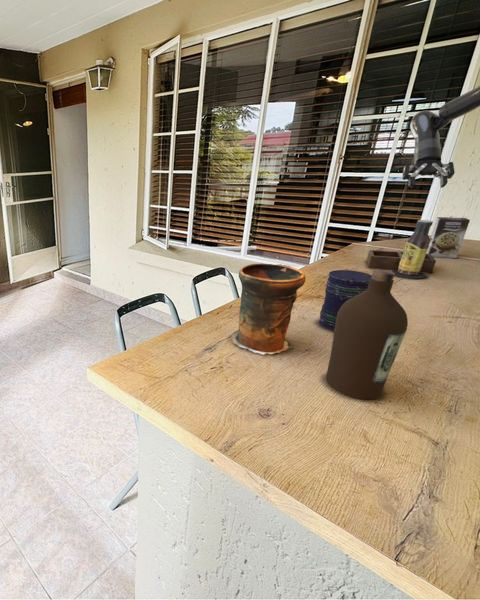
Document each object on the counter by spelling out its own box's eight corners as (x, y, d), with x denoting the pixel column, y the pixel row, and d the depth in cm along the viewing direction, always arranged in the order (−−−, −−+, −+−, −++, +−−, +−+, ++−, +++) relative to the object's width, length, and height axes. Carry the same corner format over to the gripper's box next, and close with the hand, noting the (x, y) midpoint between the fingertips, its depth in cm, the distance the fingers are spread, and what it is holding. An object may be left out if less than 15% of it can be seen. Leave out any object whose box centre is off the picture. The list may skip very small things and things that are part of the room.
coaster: (423, 272, 133) (423, 271, 133) (428, 280, 125) (429, 279, 125) (389, 270, 138) (389, 268, 138) (392, 277, 130) (392, 276, 130)
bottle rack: (426, 265, 140) (429, 253, 138) (432, 273, 132) (436, 260, 130) (366, 261, 150) (369, 249, 148) (368, 267, 142) (371, 256, 140)
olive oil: (313, 383, 74) (338, 272, 65) (334, 366, 80) (360, 261, 71) (373, 409, 66) (412, 285, 57) (393, 387, 72) (431, 272, 62)
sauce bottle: (393, 271, 135) (407, 219, 128) (412, 271, 134) (427, 218, 127) (404, 276, 129) (420, 222, 122) (423, 276, 128) (441, 221, 121)
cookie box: (427, 256, 151) (439, 218, 145) (424, 253, 156) (436, 216, 150) (457, 258, 146) (470, 219, 140) (453, 255, 151) (466, 217, 145)
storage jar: (316, 316, 104) (326, 268, 98) (356, 321, 100) (369, 271, 94) (320, 331, 96) (331, 279, 90) (365, 336, 91) (379, 283, 86)
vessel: (271, 363, 82) (284, 284, 75) (219, 341, 94) (226, 270, 86) (303, 345, 89) (318, 270, 82) (252, 326, 101) (261, 259, 93)
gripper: (407, 147, 138) (407, 180, 133) (457, 144, 131) (458, 178, 126) (400, 161, 144) (399, 193, 139) (447, 159, 137) (448, 192, 132)
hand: (427, 186), depth 132 cm, fingers open, 8 cm apart
